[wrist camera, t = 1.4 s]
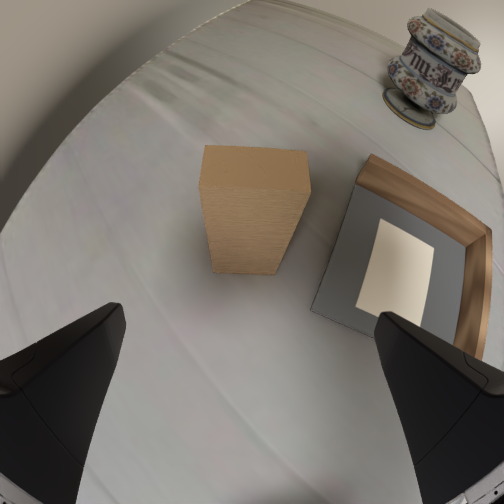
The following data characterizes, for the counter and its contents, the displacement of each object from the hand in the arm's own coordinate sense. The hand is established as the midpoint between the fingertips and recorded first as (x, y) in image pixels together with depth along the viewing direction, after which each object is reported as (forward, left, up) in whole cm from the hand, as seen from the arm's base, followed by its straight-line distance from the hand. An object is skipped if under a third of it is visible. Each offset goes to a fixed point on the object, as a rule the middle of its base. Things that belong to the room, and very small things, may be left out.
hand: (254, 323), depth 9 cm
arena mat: (+17, -1, -13) cm, 21 cm away
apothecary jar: (+37, +19, -13) cm, 44 cm away
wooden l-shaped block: (+4, +9, -13) cm, 16 cm away
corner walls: (+18, -1, -13) cm, 22 cm away
